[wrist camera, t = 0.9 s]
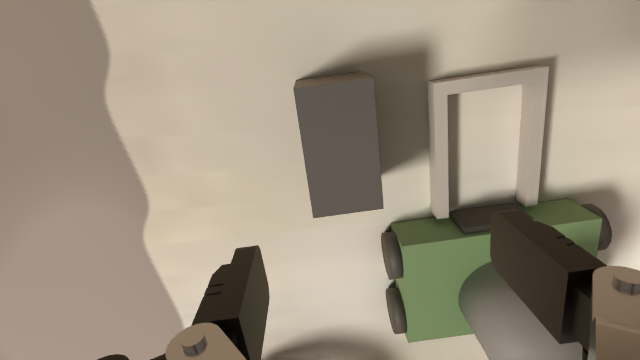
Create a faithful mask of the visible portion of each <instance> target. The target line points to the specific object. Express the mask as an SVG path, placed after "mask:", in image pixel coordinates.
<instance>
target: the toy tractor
mask: <svg viewBox="0 0 640 360" xmlns="http://www.w3.org/2000/svg"><path fill="white" fill-rule="evenodd" d="M548 75H549V66H530V67H523V68H516V69H509V70H502V71H496V72H489V73H482V74H475V75H468V76H461V77H455V78H448V79H441V80H434V81H427V84H428V117H429V150H430V183H431V212H432V213H433V214H434V216H435V217H433V218H426V219H419V220H412V221H404V222H397V223H391V232H386V233H382V234H381V244H382V252H383V258H384V263H385V267H386V271H387V274H388V277H389V279H390V280H391V279H395V285H396V287H395V288H388V289H386V300H387V307H388V312H389V317H390V322H391V325H392V329H393V332H394V334H401V333H405V335H406V337H407V340H408V343H410V342H417V341H424V340H432V339H439V338H446V337H454V336H461V335H468V334H475V336H476V338H477V339H478V341H479V343H480V344H481V346H482V348H483V349H484V351H485V353H486V355H487V356H488V358H489V360H580V359H581V350H582V345H581V344H580V343H579V342H574V343H566V344H559V343H558V342H557V341H556V340H555V338H554V337H553V336H552V335H551V334H550V333H549V331H548V330H547V329H546V328H545V327H544V326H543V324H542V323H541V322H540V321H539V320H538V319H537V318H536V316H535V315H534V314H533V313H532V312H531V311H530V309H529V308H528V307H527V306H526V305H525V304H524V302H523V301H522V300H521V299H520V298H519V297H518V296H517V294H516V293H515V292H514V291H513V290H512V289H511V287H510V286H509V285H508V284H507V283H506V282H505V280H504V279H503V278H502V277H501V276H500V275H499V273H498V272H497V271H496V270H495V268H494V266H493V264H492V261H491V257H490V236H491V216H492V214H493V213H494V212H499V211H506V210H513V209H518V210H520V211H522V212H523V213H524V214H526V215H527V216H528V217H530V218H531V219H532V220H534V221H539V222H541V223H544V224H546V225H549V226H551V227H554V228H555V229H556V230H558V231H559V232H561V233H562V234H563V235H565V237H566V238H567V237H568V238H569V239H570V240H572V241H573V242H575V245H579V246H580V247H582V248H583V249H584V250H586V251H587V252H589V253H590V254H591V255H593V256H594V257H597V251H600V250H604V249H606V248H607V247H608V246H609V244H610V242H611V238H612V231H611V226H610V223H609V221H608V219H607V217H606V215H605V214H604V213H603V211H602V210H601V209H599V208H598V207H596V206H594V205H592V204H584V205H578V204H577V203H575V202H573V201H571V200H570V199H568V198H567V199H560V200H553V201H546V202H539V203H538V192H539V180H540V168H541V157H542V145H543V133H544V121H545V110H546V98H547V86H548ZM519 84H523V94H522V110H521V126H520V142H519V158H518V175H517V191H516V200H517V201H518V202H520V203H521V204H522V205H518V206H517V205H516V204H514V203H509V204H502V205H495V206H487V207H480V208H473V209H466V210H459V211H452V212H450V215H449V192H448V105H447V95H450V94H457V93H464V92H471V91H478V90H485V89H492V88H498V87H505V86H512V85H519Z"/></svg>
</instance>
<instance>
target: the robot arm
mask: <svg viewBox="0 0 640 360" xmlns="http://www.w3.org/2000/svg"><path fill="white" fill-rule="evenodd" d="M490 257H491V261H492V264H493V266H494V268H495V270H496V271H497V272H498V273H499V275H500V276H501V277H502V278H503V279H504V280H505V282H506V283H507V284H508V285H509V286H510V287H511V289H512V290H513V291H514V292H515V293H516V294H517V296H518V297H519V298H520V299H521V300H522V301H523V302H524V304H525V305H526V306H527V307H528V308H529V309H530V311H531V312H532V313H533V314H534V315H535V316H536V318H537V319H538V320H539V321H540V322H541V323H542V324H543V326H544V327H545V328H546V329H547V330H548V331H549V333H550V334H551V335H552V336H553V337H554V338H555V340H556V341H557V342H558V343H559V344H566V343H574V342H579V343H580V344H581V345H582V350H581V359H580V360H640V271H639V270H635V269H632V268H627V267H621V266H607V265H605V264H604V263H603V262H601V261H600V260H598V259H597V258H596V257H594V256H593V255H591V254H590V253H589V252H587V251H586V250H584V249H583V248H582V247H580V246H579V245H575V242H573V241H572V240H570V239H569V238H568V237H567V238H566V237H565V235H563V234H562V233H561V232H559V231H558V230H556V229H555V228H554V227H551V226H549V225H546V224H544V223H541V222H539V221H534V220H532V219H531V218H530V217H528V216H527V215H526V214H524V213H523V212H522V211H520V210H518V209H513V210H506V211H499V212H494V213H493V214H492V216H491V236H490ZM204 295H205V296H204V297H203V299H202V301H201V304H200V306H199V308H198V311H197V313H196V316H195V318H194V321H193V323H192V325H191V326H190V327H188V328H186V329H184V330H182V331H181V332H180V333H178V334H177V335H176V336H175V337H174V338H173V339H172V340H171V341H170V343H169V344H168V346H167V348H166V353H165V354H163V355H161V356H159V357H156V358H154V359H151V360H261V354H262V347H263V340H264V333H265V327H266V320H267V313H268V306H269V287H268V281H267V277H266V273H265V268H264V264H263V259H262V255H261V251H260V248H259V246H258V245H257V246H250V247H243V248H237V249H236V250H235V253H234V256H233V259H232V261H231V264H226V265H222V266H221V267H220V268H219V269H218V270H217V271H216V272H215V273H214V274H213V275H212V277H211V280H210V282H209V284H208V288H207V289H206V292H205V294H204ZM98 360H129V359H128V358H127V357H126V356H124V355H119V354H116V355H109V356H106V357H103V358H100V359H98Z"/></svg>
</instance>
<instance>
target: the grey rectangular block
mask: <svg viewBox="0 0 640 360" xmlns="http://www.w3.org/2000/svg"><path fill="white" fill-rule="evenodd" d="M294 95H295V101H296V108H297V114H298V121H299V128H300V134H301V141H302V147H303V154H304V160H305V167H306V173H307V180H308V186H309V193H310V199H311V206H312V212H313V218H318V217H325V216H333V215H340V214H348V213H355V212H362V211H370V210H377V209H384V208H383V195H382V181H381V168H380V155H379V141H378V128H377V115H376V101H375V88H374V77H371V76H369V75H367V74H365V73H362V72H353V73H345V74H338V75H331V76H324V77H317V78H309V79H302V80H296V82H295V85H294Z"/></svg>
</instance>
